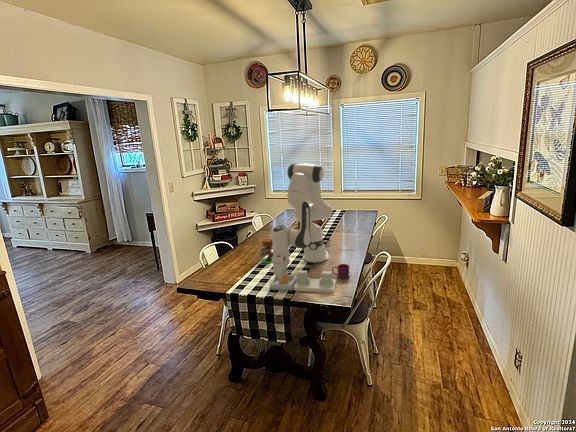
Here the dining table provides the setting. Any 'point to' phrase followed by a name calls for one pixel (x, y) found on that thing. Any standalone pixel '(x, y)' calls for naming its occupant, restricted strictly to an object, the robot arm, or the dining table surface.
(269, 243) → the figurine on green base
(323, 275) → the green fuse
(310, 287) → the fuse holder
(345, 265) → the mug
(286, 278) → the orange fuse
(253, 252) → the dining table surface
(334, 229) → the dining table surface
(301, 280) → the green fuse
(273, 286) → the tray
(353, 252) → the dining table surface
